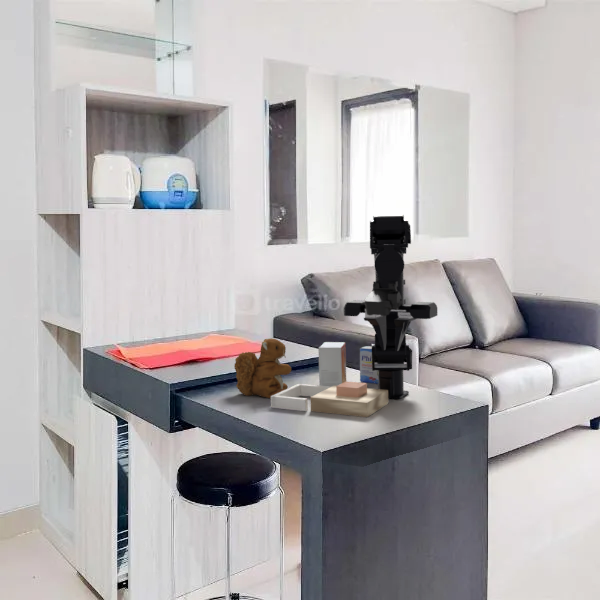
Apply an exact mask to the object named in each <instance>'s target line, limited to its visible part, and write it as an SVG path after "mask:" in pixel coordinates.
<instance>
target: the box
mask: <svg viewBox="0 0 600 600" xmlns="http://www.w3.org/2000/svg"><path fill="white" fill-rule="evenodd" d="M328 388H330V387H329V386H320V385H319V384H318V385H316V384H305V383H297V384H295V385H293V386H290V387H288V388H287V389H286V390H283V391H281V392H279V393H277V394H275V395H272V396H271V398H270V408H273V409H280V410H281V409H282V410H291V411H299V412H300V411H301V412H307V411H308V410H309V409H308V404H309V403H308V398H304V397H312V396H314V395H316V394H318V393H320V392H322V391H324V390H326V389H328ZM300 396H303V397H300Z"/></svg>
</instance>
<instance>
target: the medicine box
mask: <svg viewBox="0 0 600 600" xmlns="http://www.w3.org/2000/svg"><path fill="white" fill-rule="evenodd" d="M375 364H377V363H375ZM359 383H367V384H371V385H372V384H375V385H378V370H375V371H372V345H371V346H369V345H368V346H362V347H360V348H359Z"/></svg>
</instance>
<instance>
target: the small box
mask: <svg viewBox="0 0 600 600" xmlns="http://www.w3.org/2000/svg"><path fill="white" fill-rule="evenodd" d="M317 349H318V377H319V378H318V379H319V382H318V383H319V386H329V387H332V386H334V385H336V386H338V385H340V384H342V383H344V382H346V381H347V351H346V350H347V349H346V342H344V341H343V342H342V341H341V342H339V341H335V342H334V341H325V342H323V343H322V344H321V345H320V346H319V347H318V348H317Z"/></svg>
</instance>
